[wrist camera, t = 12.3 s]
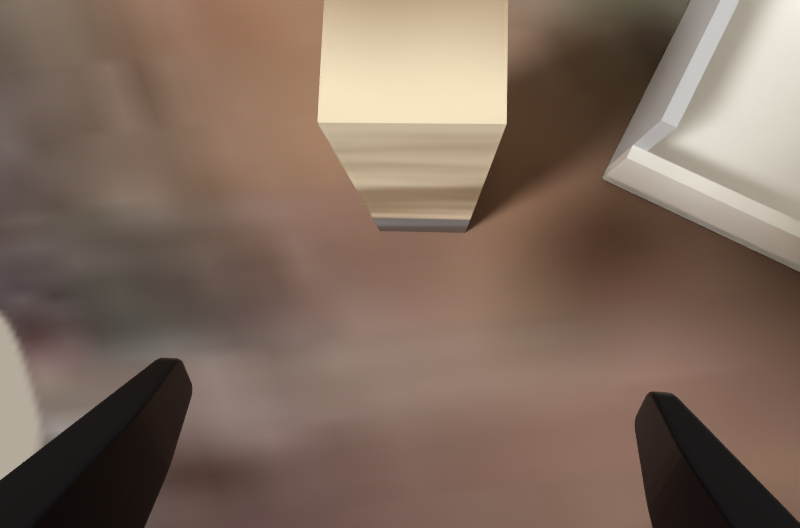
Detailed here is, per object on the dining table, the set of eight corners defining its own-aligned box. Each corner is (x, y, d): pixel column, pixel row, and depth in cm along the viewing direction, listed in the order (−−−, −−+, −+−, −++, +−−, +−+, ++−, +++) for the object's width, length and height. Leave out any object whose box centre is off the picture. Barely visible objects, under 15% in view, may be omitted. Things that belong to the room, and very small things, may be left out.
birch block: (465, 232, 23) (506, 124, 10) (380, 230, 24) (317, 122, 11) (466, 149, 24) (508, -53, 11) (383, 148, 24) (326, -51, 11)
